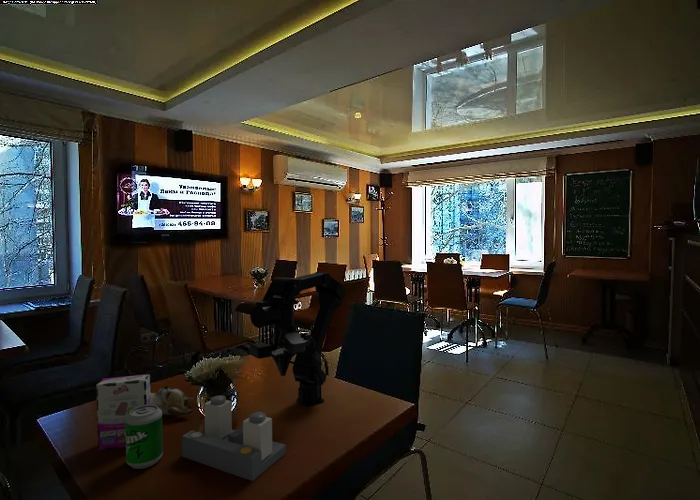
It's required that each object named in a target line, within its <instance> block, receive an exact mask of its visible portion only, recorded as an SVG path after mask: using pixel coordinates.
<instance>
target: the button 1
mask: <svg viewBox="0 0 700 500" xmlns="http://www.w3.org/2000/svg"><path fill="white" fill-rule="evenodd" d="M232 410H233V409H232V400H228V399H226V396H225V395H215V396H213V397H211V398H210V400H209V401H206V402H205V403H204V434H206V435H210V436H213V437H216V438H220V439H222V438H224V437H225V436H227V435H228V434H230V433H231V432H232V430H233V429H232V427H233V422H232V420H233V419H232V415H233V413H232Z"/></svg>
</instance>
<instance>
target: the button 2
mask: <svg viewBox="0 0 700 500" xmlns="http://www.w3.org/2000/svg"><path fill="white" fill-rule="evenodd" d="M242 426H243V446H246V447H251V448H253V449H256V450H259V451H261V459H262V460H264V459H265V458H266V457H267V456H269V455H270V454H271V453H272V441H273V418H271V417H269V416H268V417H267V415H266V413H265V412H264V411H256V412H252V413H250V414H249V417H248V418H246V419H244V420H243V421H242Z"/></svg>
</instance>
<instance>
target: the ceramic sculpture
mask: <svg viewBox="0 0 700 500" xmlns="http://www.w3.org/2000/svg"><path fill="white" fill-rule="evenodd" d="M150 396H151V405H155V406H157V407H158V408H159V409H161V410H162V416H163V415H164V416H176V417H183V416H187V415H188V414H191V413H193V412H194V410H193V409H190V408H189V407H188V405H190V404H191V403H193V402H195V401H196V400H198V397H196V396H195V397H187V396H185V393H184V392H183V391H182V390H180V389H179V388H173V387H172V388H170V386H168V385H165V386H162V387H161V388H159V389H158V391H157V392H150Z"/></svg>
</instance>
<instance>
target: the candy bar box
mask: <svg viewBox="0 0 700 500" xmlns="http://www.w3.org/2000/svg"><path fill="white" fill-rule="evenodd" d="M95 391H96V418H97V419H96V420H97V423H96V424H97V450H98V451H99V452H100V451H109V450H116V449H121V448H126V426H125V419H126V416H127V415H128V414H129V413H130V411H131V410H133V409H135V408H137V407H140V406H145V405H151V396H150V393H151V375H150V374H149V373H148V374H138V375H129V376H128V375H126V376H117V377H108V378H102V379H101V380H100V381H99V382H98V383H97V384H96V385H95Z"/></svg>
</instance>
